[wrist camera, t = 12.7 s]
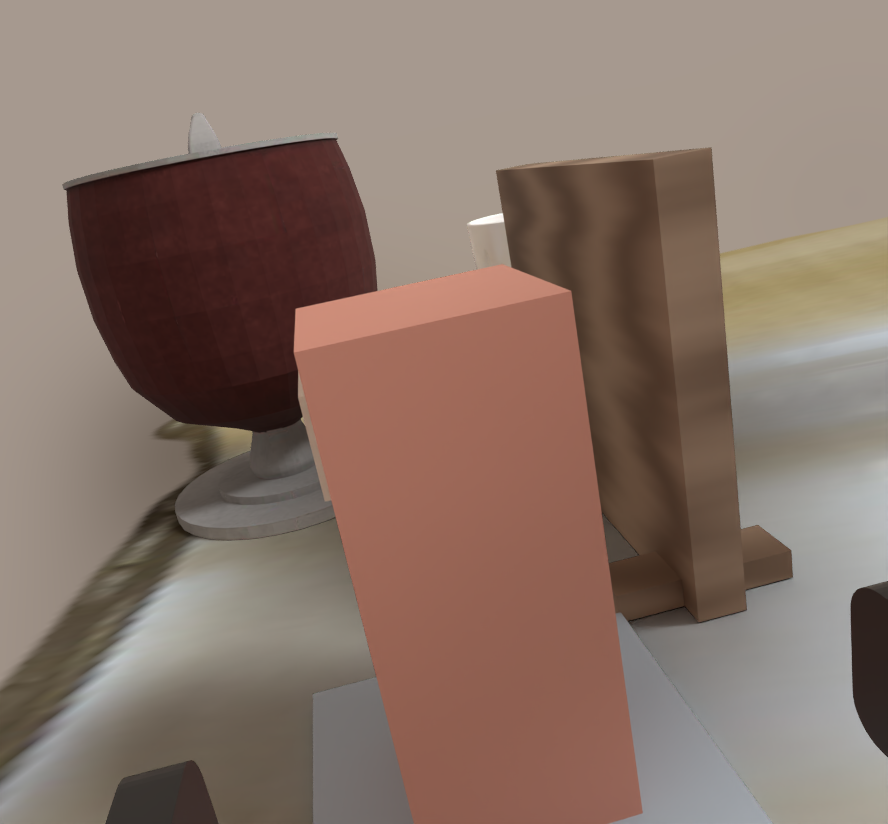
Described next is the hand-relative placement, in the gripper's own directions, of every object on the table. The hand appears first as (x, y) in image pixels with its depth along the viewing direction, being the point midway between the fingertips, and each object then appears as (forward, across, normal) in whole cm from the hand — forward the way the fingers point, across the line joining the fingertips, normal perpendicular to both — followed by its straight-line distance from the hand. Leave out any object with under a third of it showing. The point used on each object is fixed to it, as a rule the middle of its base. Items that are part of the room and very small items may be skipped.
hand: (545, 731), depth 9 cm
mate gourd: (+34, +6, +8) cm, 35 cm away
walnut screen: (+22, -8, +8) cm, 24 cm away
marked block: (+8, 0, +8) cm, 12 cm away
